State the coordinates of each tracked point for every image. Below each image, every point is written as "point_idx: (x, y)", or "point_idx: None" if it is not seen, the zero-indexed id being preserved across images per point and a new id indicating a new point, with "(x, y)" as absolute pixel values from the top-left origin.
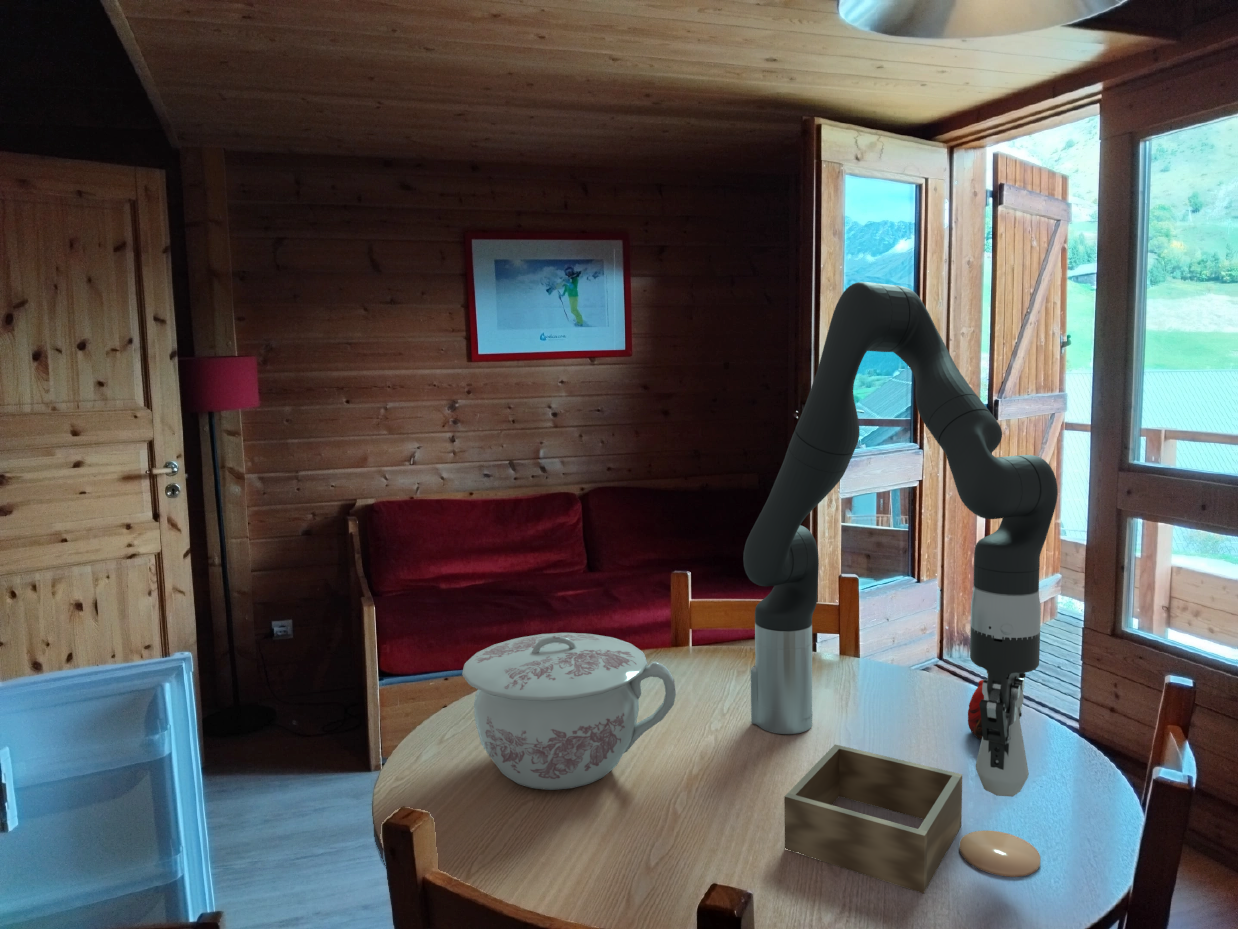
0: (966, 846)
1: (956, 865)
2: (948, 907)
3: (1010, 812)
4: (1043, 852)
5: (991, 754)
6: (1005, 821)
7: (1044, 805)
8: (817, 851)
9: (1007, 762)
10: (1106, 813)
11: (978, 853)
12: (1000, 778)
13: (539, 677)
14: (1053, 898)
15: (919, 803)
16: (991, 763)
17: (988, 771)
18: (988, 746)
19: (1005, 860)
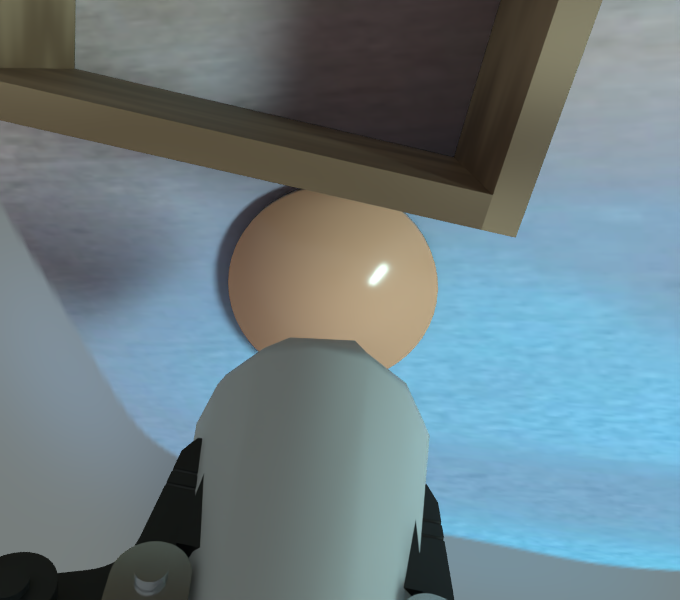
0: (320, 206)
1: (237, 176)
2: (25, 159)
3: (586, 323)
4: None
5: (162, 493)
6: (528, 308)
7: (642, 405)
8: None
9: None
10: (618, 523)
11: (295, 239)
12: None
13: None
14: (189, 388)
15: (499, 42)
16: (179, 457)
17: (210, 412)
18: (193, 504)
19: (285, 304)
